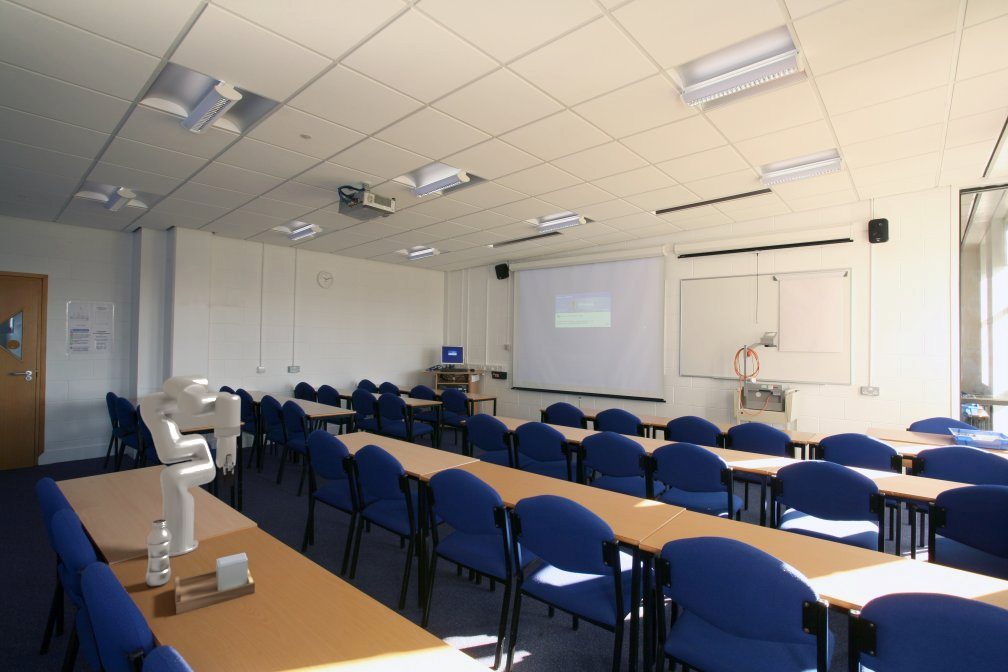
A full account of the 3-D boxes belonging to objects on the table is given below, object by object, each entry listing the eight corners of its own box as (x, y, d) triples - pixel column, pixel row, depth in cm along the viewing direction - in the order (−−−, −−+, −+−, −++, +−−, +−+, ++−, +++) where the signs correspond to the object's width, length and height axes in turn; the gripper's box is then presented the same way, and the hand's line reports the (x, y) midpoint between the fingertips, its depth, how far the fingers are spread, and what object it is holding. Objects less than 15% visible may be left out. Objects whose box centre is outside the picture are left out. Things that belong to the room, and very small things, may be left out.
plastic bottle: (157, 590, 147) (159, 526, 147) (139, 587, 148) (141, 524, 148) (176, 579, 153) (177, 518, 153) (158, 577, 154) (160, 516, 154)
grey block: (216, 582, 150) (216, 558, 150) (244, 575, 155) (244, 551, 155) (218, 591, 145) (218, 565, 145) (247, 583, 150) (247, 559, 150)
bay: (174, 589, 147) (174, 573, 147) (246, 571, 159) (246, 556, 159) (176, 614, 135) (176, 597, 135) (254, 592, 147) (254, 576, 147)
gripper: (211, 428, 164) (210, 477, 164) (217, 437, 150) (216, 491, 150) (236, 426, 168) (235, 474, 168) (243, 435, 154) (242, 487, 154)
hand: (226, 482), depth 159 cm, fingers open, 9 cm apart
